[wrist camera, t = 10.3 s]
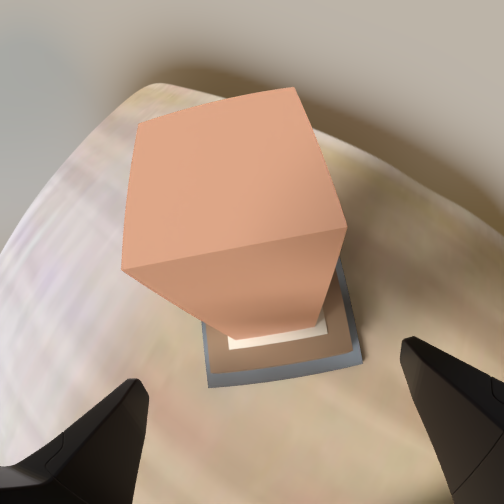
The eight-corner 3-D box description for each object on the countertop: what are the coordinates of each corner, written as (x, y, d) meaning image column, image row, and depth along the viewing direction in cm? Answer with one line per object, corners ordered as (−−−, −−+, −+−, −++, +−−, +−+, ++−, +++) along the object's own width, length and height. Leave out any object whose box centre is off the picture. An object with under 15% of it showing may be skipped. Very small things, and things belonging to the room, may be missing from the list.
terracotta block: (314, 326, 18) (347, 226, 6) (235, 340, 18) (121, 270, 6) (299, 253, 20) (293, 86, 8) (226, 267, 20) (138, 123, 8)
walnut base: (361, 364, 19) (371, 362, 16) (210, 387, 20) (197, 389, 17) (330, 228, 23) (333, 208, 21) (198, 252, 24) (185, 235, 22)
